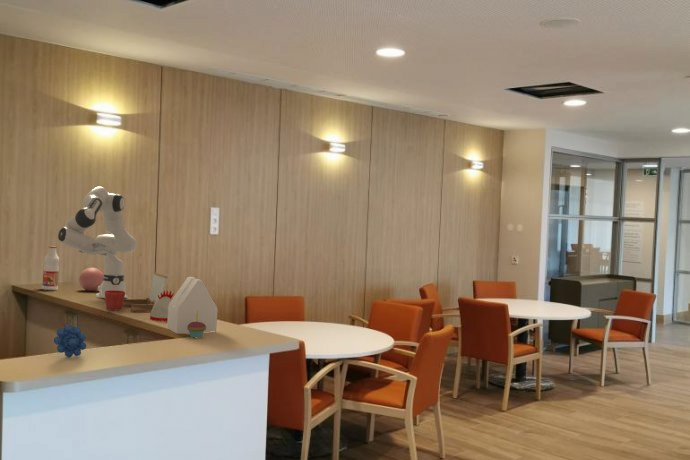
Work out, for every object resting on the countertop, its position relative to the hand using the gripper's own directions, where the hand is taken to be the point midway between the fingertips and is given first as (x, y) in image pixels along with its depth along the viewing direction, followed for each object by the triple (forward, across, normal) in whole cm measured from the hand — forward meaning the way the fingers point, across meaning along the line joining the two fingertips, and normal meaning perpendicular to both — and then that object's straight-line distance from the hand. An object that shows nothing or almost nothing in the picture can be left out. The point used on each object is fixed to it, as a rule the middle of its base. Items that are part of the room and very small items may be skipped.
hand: (110, 253), depth 372 cm
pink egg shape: (+39, +78, +6) cm, 88 cm away
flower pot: (+14, +4, +27) cm, 31 cm away
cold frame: (+26, -1, +23) cm, 35 cm away
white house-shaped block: (+15, -68, +39) cm, 80 cm away
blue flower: (-55, -95, +69) cm, 130 cm away
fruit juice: (+17, +93, +11) cm, 96 cm away
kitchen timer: (+20, -35, +32) cm, 52 cm away
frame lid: (+30, -5, +9) cm, 32 cm away
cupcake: (+7, -84, +45) cm, 95 cm away
